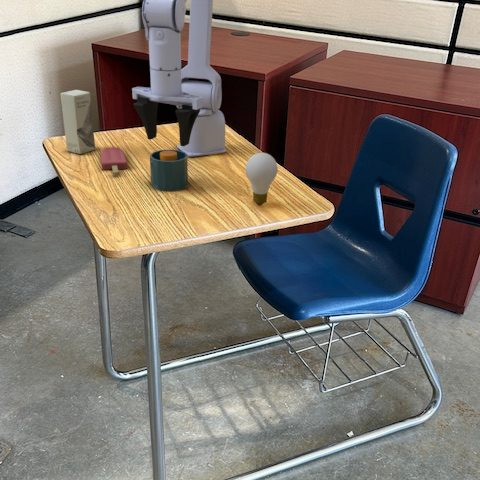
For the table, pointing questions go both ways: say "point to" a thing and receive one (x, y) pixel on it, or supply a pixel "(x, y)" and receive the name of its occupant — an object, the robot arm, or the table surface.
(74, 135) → the box
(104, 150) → the popsicle
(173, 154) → the glue stick
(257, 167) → the light bulb
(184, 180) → the tumbler
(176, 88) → the robot arm
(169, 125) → the table surface
